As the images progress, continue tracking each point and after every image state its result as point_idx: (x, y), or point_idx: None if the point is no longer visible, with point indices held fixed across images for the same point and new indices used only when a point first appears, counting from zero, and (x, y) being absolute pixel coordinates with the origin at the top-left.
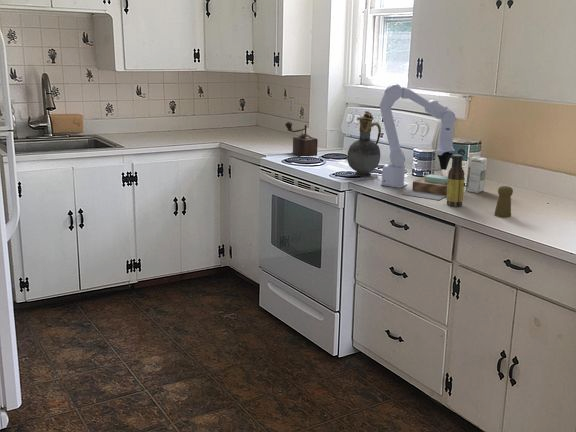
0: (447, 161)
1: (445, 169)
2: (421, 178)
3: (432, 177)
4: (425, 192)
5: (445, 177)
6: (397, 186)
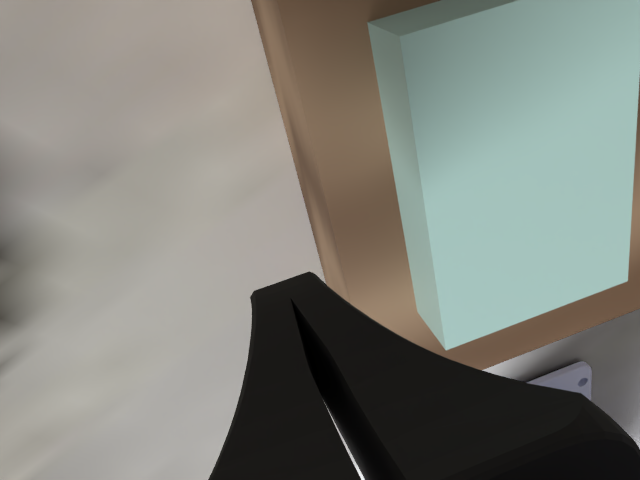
0: (378, 357)
1: (309, 273)
2: (474, 361)
3: (626, 181)
4: None
5: (498, 57)
6: (588, 385)
